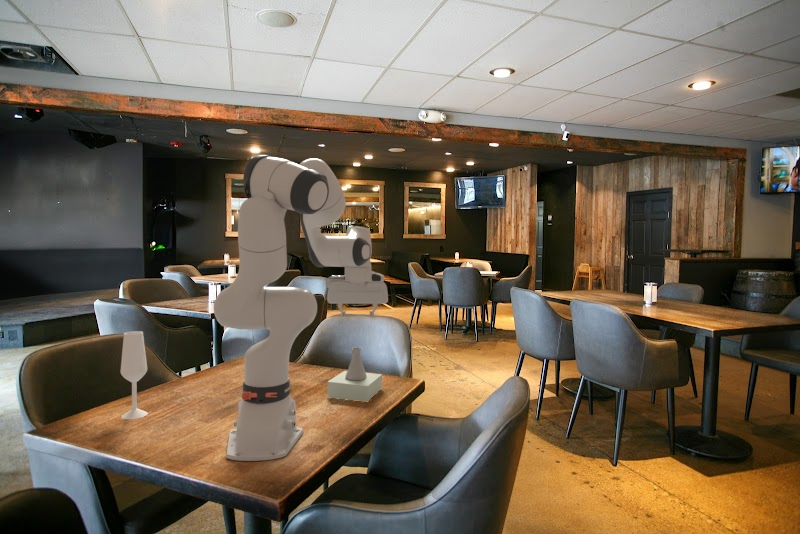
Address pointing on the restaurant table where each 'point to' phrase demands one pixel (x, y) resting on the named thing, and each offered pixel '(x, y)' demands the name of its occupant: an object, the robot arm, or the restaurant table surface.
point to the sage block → (354, 387)
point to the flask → (356, 366)
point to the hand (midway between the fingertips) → (357, 316)
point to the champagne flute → (133, 368)
